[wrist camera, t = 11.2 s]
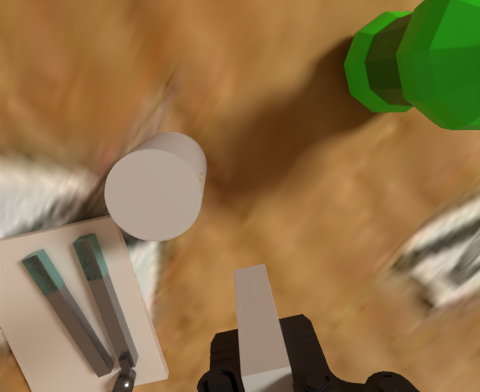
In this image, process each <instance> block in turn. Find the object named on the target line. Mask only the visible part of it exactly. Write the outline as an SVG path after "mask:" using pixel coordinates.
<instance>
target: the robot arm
mask: <svg viewBox="0 0 480 392" xmlns="http://www.w3.org/2000/svg"><path fill="white" fill-rule="evenodd" d="M234 282H235V296H236V310H237V324H238V329H235V330H230V331H226V332H221V333H216V335H215V337H214V338H213V340H212V342H211V349H210V354H211V355H210V370H209V371H208V372H207V373H205V374H204V375H203V376H202V377H201V379H200V380H199V382H198V386H197V389H198V392H419V391H418V390H417V389H416V388H415V387H414V386H413V385H412V384H411V383H410V382H409V381H408V380H407V379H406V378H404V377H403V376H401V375H399V374H396V373H394V372H386V371H382V372H378V373H374V374H373V375H371V376H370V377H368V379H367V381H366V383H365V384H361V383H351V382H346V381H343V380H341V379H339V378H337V377H336V376H335V375H334V374H333V373H332V372H331V371H330V369H329V367H328V364H327V362H326V359H325V357H324V354H323V352H322V349H321V346H320V344H319V341H318V339H317V336H316V333H315V331H314V328H313V326H312V323H311V321H310V320H309V319H308V318H307V317H305V316H304V315H303V314H300V315H296V316H291V317H286V318H282V319H278V315H277V311H276V307H275V303H274V299H273V295H272V291H271V287H270V283H269V279H268V275H267V271H266V267H265V264H261V265H257V266H252V267H247V268H243V269H238V270H234Z"/></svg>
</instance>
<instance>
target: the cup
mask: <svg viewBox="0 0 480 392" xmlns="http://www.w3.org/2000/svg"><path fill="white" fill-rule="evenodd" d="M206 173H207V162H206V158H205V155H204V153H203V151H202V149H201V147H200V146H199V145H198V144H197V143H196V142H195V141H194V140H193V139H192V138H190V137H188V136H186V135H184V134H182V133H178V132H163V133H159V134H156V135H154V136H152V137H151V138H149V139H148V140H147V141H145V142H144V143H142V144H141V145H140V146H138V147H137V148H136V149H134V150H133V151H131V152H130V153H129V154H127V155H126V156H124V157H123V158H122V159H120V160H119V161H118V162H117V163H116V164H115V165H114V167H113V168H112V169H111V171H110V173H109V175H108V177H107V180H106V184H105V202H106V206H107V209H108V211H109V213H110V215H111V217H112V218H113V220H114V221H115V222H116V224H117V225H118V226H119V227H120V228H122V229H123V230H124V231H125V232H127V233H128V234H130V235H132V236H134V237H136V238H139V239H142V240H147V241H164V240H169V239H172V238H175V237H177V236H179V235H181V234H182V233H184V232H185V231H186V230H188V229H189V228H190V227H191V226H192V224H193V223H194V222H195V220H196V218H197V217H198V214H199V212H200V209H201V204H202V198H203V192H204V185H205V179H206Z"/></svg>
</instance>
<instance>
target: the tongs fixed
mask: <svg viewBox="0 0 480 392" xmlns="http://www.w3.org/2000/svg"><path fill="white" fill-rule="evenodd" d="M72 244H73V247H74V249H75V252H76V254H77V257H78V260H79V262H80V265H81V267H82V270H83V273H84V275H85V278H86V280H87V282H88V283H89V286H90V289H91V291H92V294H93V296H94V299H95V302H96V304H97V307H98V309H99V312H100V315H101V317H102V320H103V322H104V325H105V328H106V330H107V333H108V336H109V338H110V341H111V343H112V346H113V349H114V351H115V354H116V356H117V359H118V362H119V365H120V367H121V370H120V371H119V373H118V376H117V379H116V381H115V384H114V387H113V390H112V392H132V390H133V386H134V383H135V379H136V372H135V371H134V370H133V369H132V368H133V367H136V363H137V360H138V357H139V356H138V353H137V350H136V348H135V345H134V342H133V339H132V336H131V334H130V331H129V328H128V325H127V323H126V320H125V317H124V314H123V312H122V309H121V306H120V303H119V300H118V298H117V295H116V292H115V289H114V287H113V284H112V281H111V278H110V276H109V273H108V268H107V265H106V262H105V259H104V256H103V254H102V251H101V248H100V245H99V243H98V240H97V237H96V234H95V233H94V234H89V235H85V236H80V237H78V238H77V239H76V240H75V241H74V242H73V243H72Z"/></svg>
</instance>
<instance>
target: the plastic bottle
mask: <svg viewBox="0 0 480 392" xmlns="http://www.w3.org/2000/svg"><path fill="white" fill-rule="evenodd" d="M344 69H345V73H346V78H347V82H348V87H349V91H350V94H351V95H352V96H353V97H354V98H355V99H357V100H358V101H359V102H360V103H362V104H363V105H364V106H365V107H367V108H368V109H369V110H370V111H371V112H406V111H408V110H409V109H411V108H412V107H415V108H416V109H418V110H419V111H420V112H421V113H422V114H424V115H425V116H426V117H427V118H428V119H429V120H431V121H432V122H433V123H435V124H436V125H438V126H439V127H441V128H444V129H449V130H480V0H424V1H423V2H422V3H420V4H419V5H418V6H417V7H416V8H415V9H414V12H385V13H382V14H381V15H379V16H378V17H377V18H375V19H374V20H373V21H371V22H370V23H369V24H367V25H366V26H365V27H363V28H362V29H361V30H359V31H358V32H357V33H355V35H354V38H353V41H352V43H351V46H350V49H349V51H348V54H347V57H346V59H345V62H344Z"/></svg>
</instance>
